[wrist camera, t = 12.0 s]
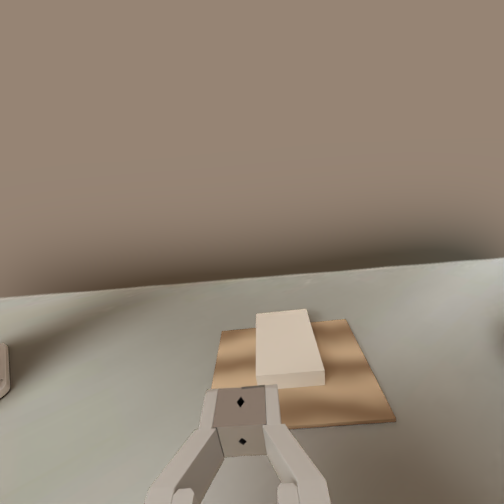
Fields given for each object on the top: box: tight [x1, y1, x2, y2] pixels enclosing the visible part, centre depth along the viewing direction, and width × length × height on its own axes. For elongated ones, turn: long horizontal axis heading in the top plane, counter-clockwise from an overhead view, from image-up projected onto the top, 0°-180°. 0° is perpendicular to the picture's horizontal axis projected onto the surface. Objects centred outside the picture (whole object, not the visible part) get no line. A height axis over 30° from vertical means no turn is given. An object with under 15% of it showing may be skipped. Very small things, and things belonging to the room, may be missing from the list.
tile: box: [256, 309, 325, 389], centre depth 36 cm, size 2×8×12 cm
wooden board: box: [211, 319, 396, 429], centre depth 34 cm, size 16×20×1 cm
